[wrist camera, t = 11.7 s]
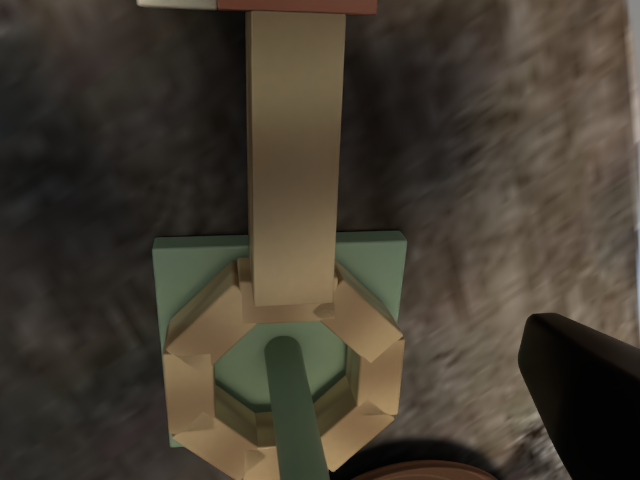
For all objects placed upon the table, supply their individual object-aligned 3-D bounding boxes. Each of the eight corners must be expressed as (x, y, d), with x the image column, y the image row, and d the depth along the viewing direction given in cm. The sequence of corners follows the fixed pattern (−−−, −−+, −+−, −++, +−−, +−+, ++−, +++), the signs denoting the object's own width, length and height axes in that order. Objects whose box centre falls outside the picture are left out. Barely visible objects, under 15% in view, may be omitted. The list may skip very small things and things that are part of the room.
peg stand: (379, 413, 25) (443, 588, 18) (171, 430, 24) (152, 629, 17) (400, 229, 21) (492, 360, 14) (154, 236, 20) (118, 386, 13)
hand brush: (379, 434, 23) (402, 493, 20) (176, 452, 22) (170, 518, 19) (436, -218, 15) (487, -273, 13) (124, -252, 14) (100, -323, 11)
